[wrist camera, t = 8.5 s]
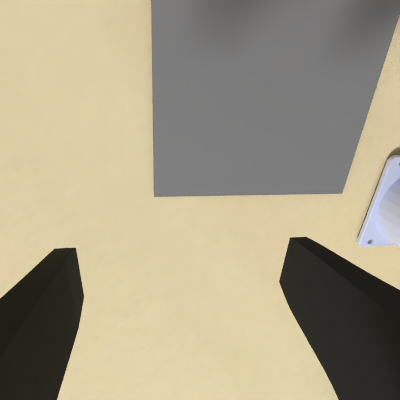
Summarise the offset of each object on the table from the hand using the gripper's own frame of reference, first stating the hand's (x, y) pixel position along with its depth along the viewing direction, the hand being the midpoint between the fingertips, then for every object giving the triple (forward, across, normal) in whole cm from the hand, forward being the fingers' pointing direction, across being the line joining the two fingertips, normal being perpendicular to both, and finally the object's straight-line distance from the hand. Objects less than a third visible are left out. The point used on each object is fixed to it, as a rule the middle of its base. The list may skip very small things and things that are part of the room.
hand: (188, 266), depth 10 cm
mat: (+10, -6, -4) cm, 12 cm away
